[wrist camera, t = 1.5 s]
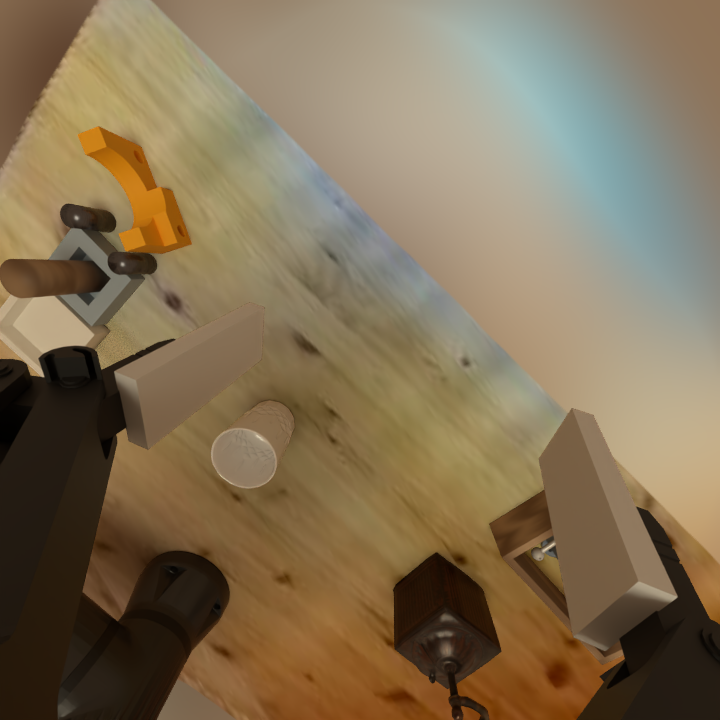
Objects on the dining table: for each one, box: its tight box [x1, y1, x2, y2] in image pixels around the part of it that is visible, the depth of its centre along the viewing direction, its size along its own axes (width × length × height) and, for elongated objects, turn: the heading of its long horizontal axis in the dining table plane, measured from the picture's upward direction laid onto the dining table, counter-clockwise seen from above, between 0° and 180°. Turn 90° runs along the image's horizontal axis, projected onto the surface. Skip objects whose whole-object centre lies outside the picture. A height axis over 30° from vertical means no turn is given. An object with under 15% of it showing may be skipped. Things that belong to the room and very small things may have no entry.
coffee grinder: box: [393, 553, 501, 720], centre depth 46 cm, size 16×11×18 cm
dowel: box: [0, 259, 111, 298], centre depth 41 cm, size 4×4×10 cm
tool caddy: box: [489, 490, 624, 665], centre depth 47 cm, size 15×23×6 cm, turn 42°
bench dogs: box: [60, 204, 157, 275], centre depth 42 cm, size 3×10×5 cm, turn 42°
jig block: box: [48, 228, 145, 326], centre depth 45 cm, size 9×9×2 cm
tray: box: [0, 295, 110, 377], centre depth 47 cm, size 11×11×3 cm
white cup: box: [211, 400, 295, 488], centre depth 44 cm, size 8×8×10 cm
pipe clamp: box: [78, 126, 192, 254], centre depth 40 cm, size 12×4×6 cm, turn 15°
